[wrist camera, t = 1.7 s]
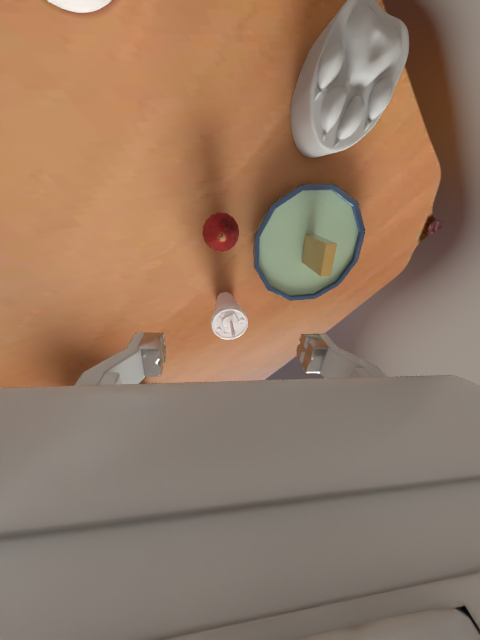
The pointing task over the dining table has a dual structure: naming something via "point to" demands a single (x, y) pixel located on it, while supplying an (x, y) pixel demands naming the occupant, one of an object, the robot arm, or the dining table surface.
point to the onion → (220, 232)
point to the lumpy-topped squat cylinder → (347, 78)
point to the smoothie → (228, 317)
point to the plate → (292, 240)
